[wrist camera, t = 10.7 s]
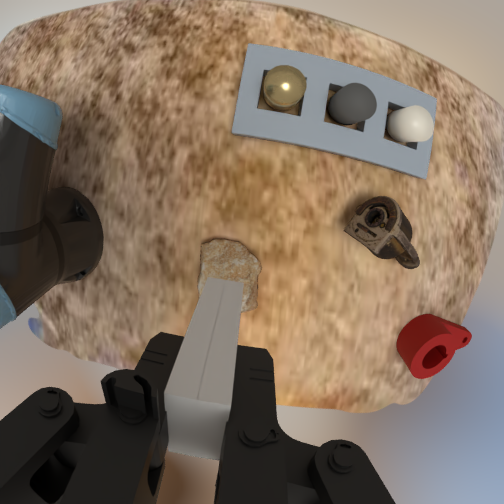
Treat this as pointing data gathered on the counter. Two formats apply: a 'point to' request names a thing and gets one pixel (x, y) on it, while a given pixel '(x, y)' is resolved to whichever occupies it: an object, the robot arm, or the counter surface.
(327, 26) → the counter surface
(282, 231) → the counter surface
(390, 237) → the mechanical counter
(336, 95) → the dark gray cylinder
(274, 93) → the gold cylinder
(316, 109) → the grey slotted holder
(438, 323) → the lever
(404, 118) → the white rounded cylinder
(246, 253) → the stone
